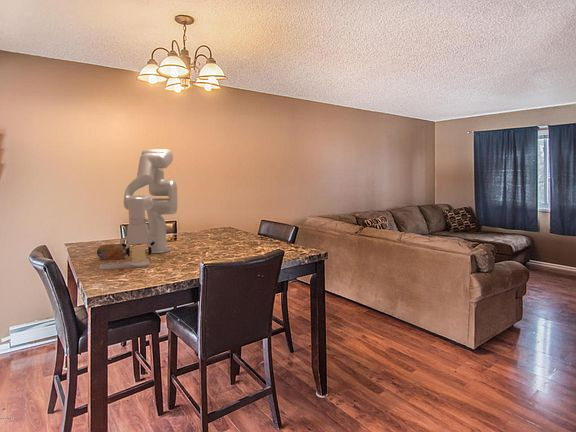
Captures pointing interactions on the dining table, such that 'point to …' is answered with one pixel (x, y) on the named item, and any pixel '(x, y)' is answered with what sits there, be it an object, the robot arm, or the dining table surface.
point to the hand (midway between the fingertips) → (139, 255)
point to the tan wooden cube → (138, 255)
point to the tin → (111, 252)
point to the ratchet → (124, 265)
